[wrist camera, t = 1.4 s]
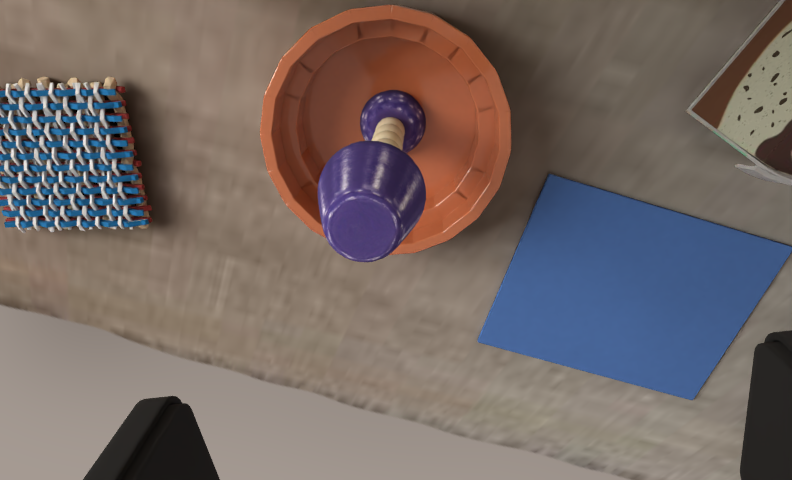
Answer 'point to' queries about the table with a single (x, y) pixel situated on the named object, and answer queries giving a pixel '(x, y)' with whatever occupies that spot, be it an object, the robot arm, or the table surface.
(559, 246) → the cloth
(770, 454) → the robot arm
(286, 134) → the bowl
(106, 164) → the woven mat
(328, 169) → the toy lamp
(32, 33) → the table surface
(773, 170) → the food container
